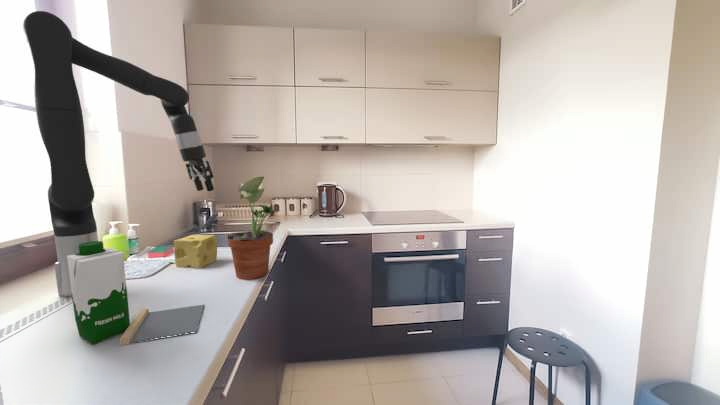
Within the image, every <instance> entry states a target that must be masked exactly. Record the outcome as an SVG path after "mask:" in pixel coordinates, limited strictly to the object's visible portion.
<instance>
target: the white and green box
mask: <svg viewBox="0 0 720 405" xmlns="http://www.w3.org/2000/svg"><path fill="white" fill-rule="evenodd" d="M67 260H68V268H69V275H70V284H71V292H72V296H71V298H72V304H73V306H72V307H73V314H74V321H75V325H76V327H77V328H76V329H77V331H78V336H80V338H82V339H84V340H85V341H86V342H88V343H89V344H91V346H92V345H93V346H94V345H96V344H99V343H101V342H104V341H107V340H109V339H112V338H113V337H116V336H119V335H121V334H122V335H123V334H124V332H125V331H126V329H127V328H128V327H129V325H130V324H131V322H130V318H131V317H130V311H129V310H130V309H129V298H128V297H129V296H128V288H127V280H126V278H127V277H126V270H125V252H122V251H120V250H119V249H115V248H111V247H106V248H104V243H103V241H102V240H101V241H100V240H98V241H93V242H86V243H82V244H79V253H77V254H74V255H69V256H67Z"/></svg>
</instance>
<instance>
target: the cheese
mask: <svg viewBox="0 0 720 405" xmlns="http://www.w3.org/2000/svg"><path fill="white" fill-rule="evenodd" d="M173 251H174V252H173V253H174V262H175V266H176V268H189V267H190V268H192V269H202V268H203V267H205V266H207V265H209V264H211V263H215V262H216V261H217V258H218V257H217V256H218V241H217V236H216V234H209V235H208V234H191V235H188V236H185V237H182V238H178V239H175V240H173Z"/></svg>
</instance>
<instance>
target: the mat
mask: <svg viewBox="0 0 720 405" xmlns="http://www.w3.org/2000/svg"><path fill="white" fill-rule="evenodd" d="M203 308H205V304H199V305H191V306H183V307H177V308H171V309H170V308H169V309H164V310H157V311H149V307H147V308H141V309H140V310H139V312H138V313H137V314H136V316H135V317H134V318H133V319H132V321H131V322H130V325H129V327H128V328H127V329H126V331H125V332H124V333H122V335H121V337H120V338H119V343H120V346H125V345H126V344H127V345H132V344H131V343H133V344H136V343H135V342H139V343H141V342H140V341H145V342H147V341H146V340H151V339H155V338H161V337H167V336H174V335H179V334H185V333H191V332H196V331H197V332H198V329H197V327H198V328H199V326H198V324H199V325H200V322H199V321H201V319H200V318H202V316H201V314H202V315H203V312H204V309H203ZM202 311H203V312H202ZM151 341H152V340H151Z"/></svg>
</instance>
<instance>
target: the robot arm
mask: <svg viewBox="0 0 720 405" xmlns="http://www.w3.org/2000/svg"><path fill="white" fill-rule="evenodd" d="M22 30H23V32H22V33H23V37H24V39H25V41H26V43H28V45H29V49H30V53H31V58H32V62H33V66H34V68H33V69H34V85H33V86H34V89H33V90H34V105H35V113H36V120H37V124H38V129H39V132H40V135H41V139H42V142H43V145H44V147H45V151H46V152H47V155H48V159H49V163H50V173H51V174H50V176H51V177H50V178H51V183H50V185H49V187H48V190H47V200H48V205H49V212H50V219H51V225H52V228H53V235H54V240H55V249H56V250H55V251H56V257H57V261H56V262H55V263H54V264H53V265H54V271H55V280H56V286H57V294H58V297H60V296H66V297H72V292H71V284H70V275H69V268H68V260H67V256H69V255H74V254H77V253H79V244H82V243H86V242H93V241H99V237H98V227H97V221H96V218H95V215H94V210H93V201H94V198H95V190H94V187H93V186H94V185H93V183H92V180H91V175H90V172H89V168H88V164H87V159H86V158H87V157H86V136H85V125H84V116H83V109H82V105H81V101H80V100H81V99H80V96H79V95H80V94H79V90H78V88H77V84H76V81H75V76H74V69H73V65H76V66H78V67H81V68H83V69H86V70H89V71H91V72H93V73H95V74H96V73H97V74H99V75H101V76H102V77H105V78H107V79H108V80H109V79H110V80H111V81H114V82H116V83H118V84H119V85H122V86H124V87H126V88H128V89H131V90H133V91H134V92H137V93H140V94H142V95H144V96H152V97H155V98H157V99H160V100H159V101H160V103H161V106H162V108H163V111H164V113H165V114H166V116H167V118H168V119H169V121H170V123H171V127H172V129H173V133H174V135H175V140H176V144H177V147H178V150H179V153H180V156H181V158H182V160H183V161H182V162H188V163H185V167H186V168H185V169H186V170H187V173H188V177H189V180H191V181H192V182H193V183H194V185H195V189H196V191H198V192H201V191H203V190H204V188H206V191H207V192H212V191H214V190H215V187H214V185H213V182H212V180H213V178H215V176H214V174H213V171H212V168H211V165H210V163H209V161H208V160H206V161H205V160H204V158H206V157H207V154H206V152H205V148H204V145H203V141H202V139H201V136H200V134H199V132H198V129H197V127H196V124H195V120H194V117H192V115H190V114H188V111H187V108H186V107H185V106H186V105H187V104H188V103H189V100H190V96H189V93H188V91H187V89H186V88H184V87H183V86H181V85H180V84H178V83H176V82H173V81H171V80H168V79H165V78H162V77H161V76H158V75H157V76H156V75H154V74H152V73H150V72H148V71H147V70H145V69H143V68H141V67H139V66H137V65H135V64H133V63H131V62H130V61H129V62H128V61H126V60H124V59H121V58H119V57H114V56H113V55H109V54H106V53H103V52H101V51H98V50H96V49H94V48H92V47H90V46H88V45H86V44H84V43H82V42H81V41H79V40H77V39H76V38H74V37H73V35H72V32H71V30H70V28H69V27H68V25H67V24H66V23H65V22H64V21H63V20H62V19H61V18H60V17H59V16H57V15H55V14H53V13H51V12H49V11H45V10H37V11H33V12H31V13H29V14H28V15H26V16H25V18H24V20H23V22H22ZM201 179H202V180H203V182H202V180H201ZM203 183H204V185H205V187H204V186H203Z"/></svg>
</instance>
